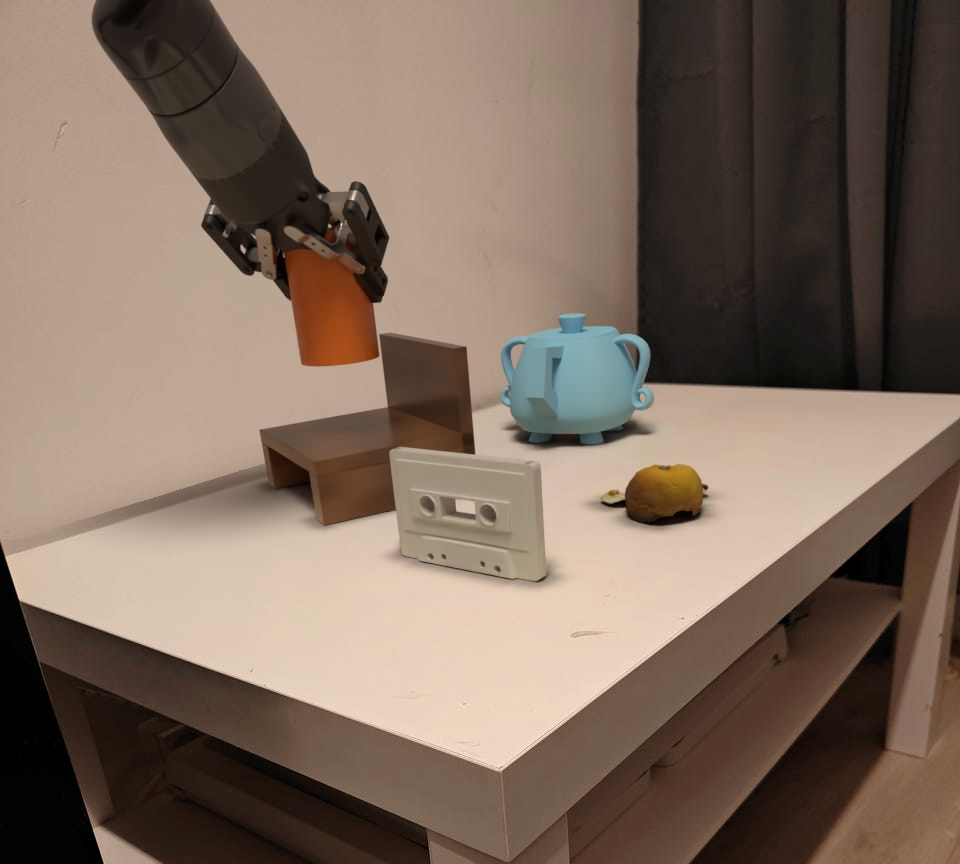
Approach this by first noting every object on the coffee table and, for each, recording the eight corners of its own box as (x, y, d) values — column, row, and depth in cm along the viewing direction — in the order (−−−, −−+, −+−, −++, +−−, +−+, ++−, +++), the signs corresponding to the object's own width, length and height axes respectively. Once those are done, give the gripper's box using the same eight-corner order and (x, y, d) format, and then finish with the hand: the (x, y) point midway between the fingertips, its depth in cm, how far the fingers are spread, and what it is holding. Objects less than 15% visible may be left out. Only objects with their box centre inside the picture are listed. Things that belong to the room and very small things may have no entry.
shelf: (324, 525, 75) (300, 372, 70) (268, 484, 88) (245, 353, 83) (478, 491, 80) (466, 346, 75) (404, 457, 93) (390, 332, 88)
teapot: (622, 460, 85) (620, 325, 80) (463, 453, 93) (452, 329, 88) (684, 413, 101) (685, 298, 96) (543, 410, 109) (538, 303, 104)
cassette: (395, 557, 66) (382, 451, 63) (413, 549, 68) (400, 444, 64) (535, 585, 59) (529, 467, 56) (551, 575, 61) (546, 459, 58)
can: (315, 369, 75) (294, 230, 70) (291, 361, 80) (270, 232, 76) (391, 357, 77) (375, 223, 73) (362, 351, 83) (346, 225, 78)
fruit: (700, 489, 75) (701, 444, 74) (731, 520, 68) (732, 471, 66) (598, 499, 75) (597, 454, 74) (617, 531, 68) (616, 481, 66)
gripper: (335, 76, 62) (429, 254, 76) (163, 103, 67) (281, 265, 82) (305, 165, 60) (407, 331, 74) (129, 186, 65) (257, 337, 80)
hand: (341, 296), depth 78 cm, fingers closed on can, 6 cm apart
